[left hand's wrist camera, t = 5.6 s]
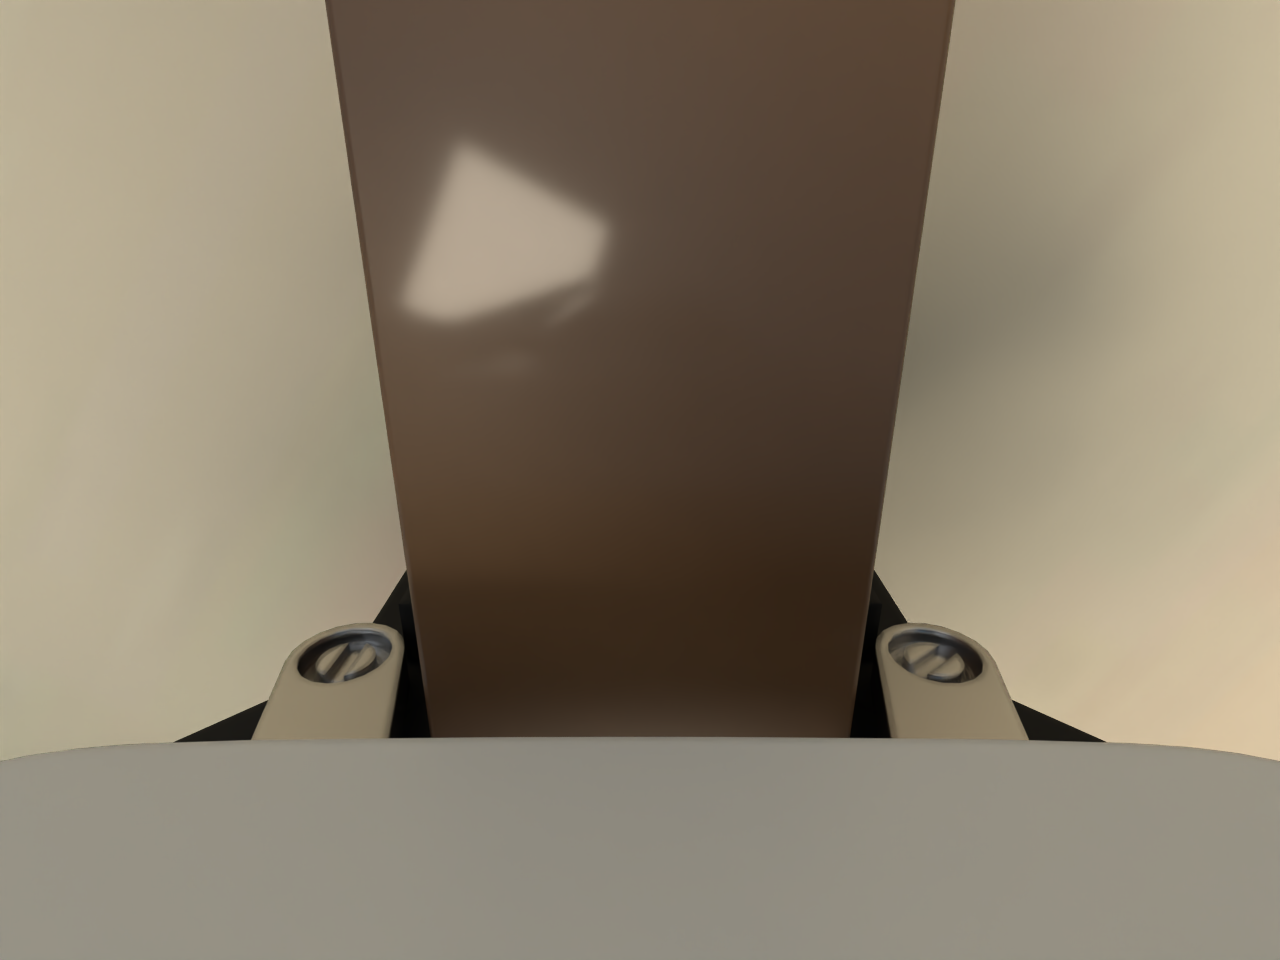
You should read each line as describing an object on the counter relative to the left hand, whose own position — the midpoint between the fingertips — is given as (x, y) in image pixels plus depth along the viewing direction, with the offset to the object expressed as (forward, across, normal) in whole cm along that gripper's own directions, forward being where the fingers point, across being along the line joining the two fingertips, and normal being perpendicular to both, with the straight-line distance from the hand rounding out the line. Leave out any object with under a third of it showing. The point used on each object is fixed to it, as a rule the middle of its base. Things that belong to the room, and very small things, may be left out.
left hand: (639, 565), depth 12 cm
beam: (+3, 0, -27) cm, 27 cm away
